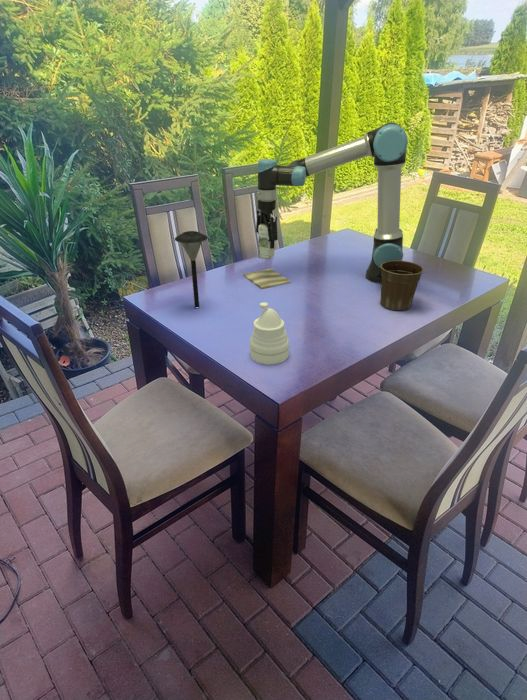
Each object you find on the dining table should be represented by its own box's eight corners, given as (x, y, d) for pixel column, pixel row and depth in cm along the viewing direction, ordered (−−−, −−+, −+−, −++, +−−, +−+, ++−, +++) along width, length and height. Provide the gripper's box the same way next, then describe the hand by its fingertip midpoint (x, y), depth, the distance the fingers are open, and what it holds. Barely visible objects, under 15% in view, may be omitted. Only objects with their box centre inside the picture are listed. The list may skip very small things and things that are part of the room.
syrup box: (274, 255, 200) (274, 223, 193) (270, 259, 195) (270, 226, 188) (262, 254, 202) (262, 222, 194) (258, 258, 197) (258, 225, 189)
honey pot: (244, 360, 144) (242, 310, 135) (258, 341, 155) (258, 294, 145) (281, 367, 140) (282, 317, 131) (293, 348, 151) (295, 300, 142)
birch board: (290, 282, 200) (290, 280, 200) (261, 289, 194) (261, 287, 194) (270, 270, 214) (270, 268, 213) (243, 275, 208) (243, 273, 207)
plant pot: (384, 293, 190) (390, 257, 182) (421, 302, 182) (429, 265, 174) (368, 306, 179) (373, 268, 171) (407, 317, 171) (415, 277, 163)
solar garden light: (205, 316, 172) (199, 239, 156) (176, 312, 175) (168, 236, 159) (217, 303, 182) (212, 230, 166) (189, 299, 185) (183, 227, 169)
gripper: (247, 195, 192) (248, 247, 204) (271, 205, 176) (270, 260, 188) (262, 193, 195) (262, 244, 207) (287, 203, 179) (285, 257, 191)
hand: (266, 252), depth 197 cm, fingers closed on syrup box, 8 cm apart
